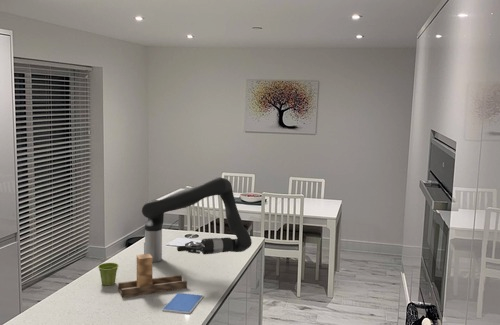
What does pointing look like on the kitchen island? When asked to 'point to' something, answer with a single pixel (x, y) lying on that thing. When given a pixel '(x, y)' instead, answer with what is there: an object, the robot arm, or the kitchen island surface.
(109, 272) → the plant pot
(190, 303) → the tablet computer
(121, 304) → the kitchen island surface
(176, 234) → the kitchen island surface
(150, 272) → the block
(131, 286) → the chute
